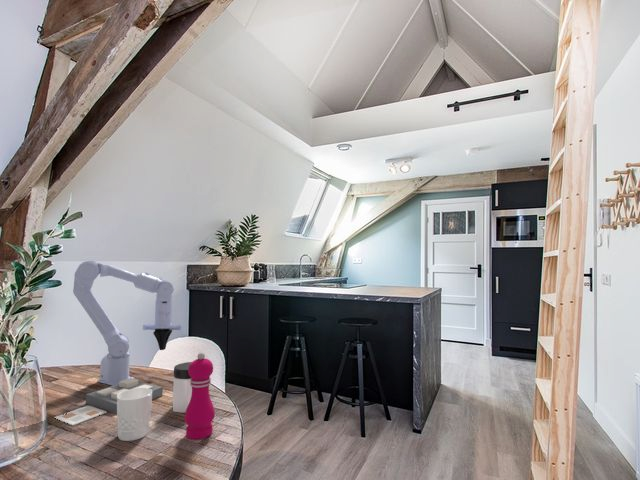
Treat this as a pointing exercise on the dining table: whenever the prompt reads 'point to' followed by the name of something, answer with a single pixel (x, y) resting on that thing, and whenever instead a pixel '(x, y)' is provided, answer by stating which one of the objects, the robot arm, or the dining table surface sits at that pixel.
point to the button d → (145, 386)
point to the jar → (181, 387)
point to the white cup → (133, 413)
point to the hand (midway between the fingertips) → (162, 349)
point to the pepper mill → (200, 400)
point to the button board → (110, 403)
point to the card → (80, 415)
